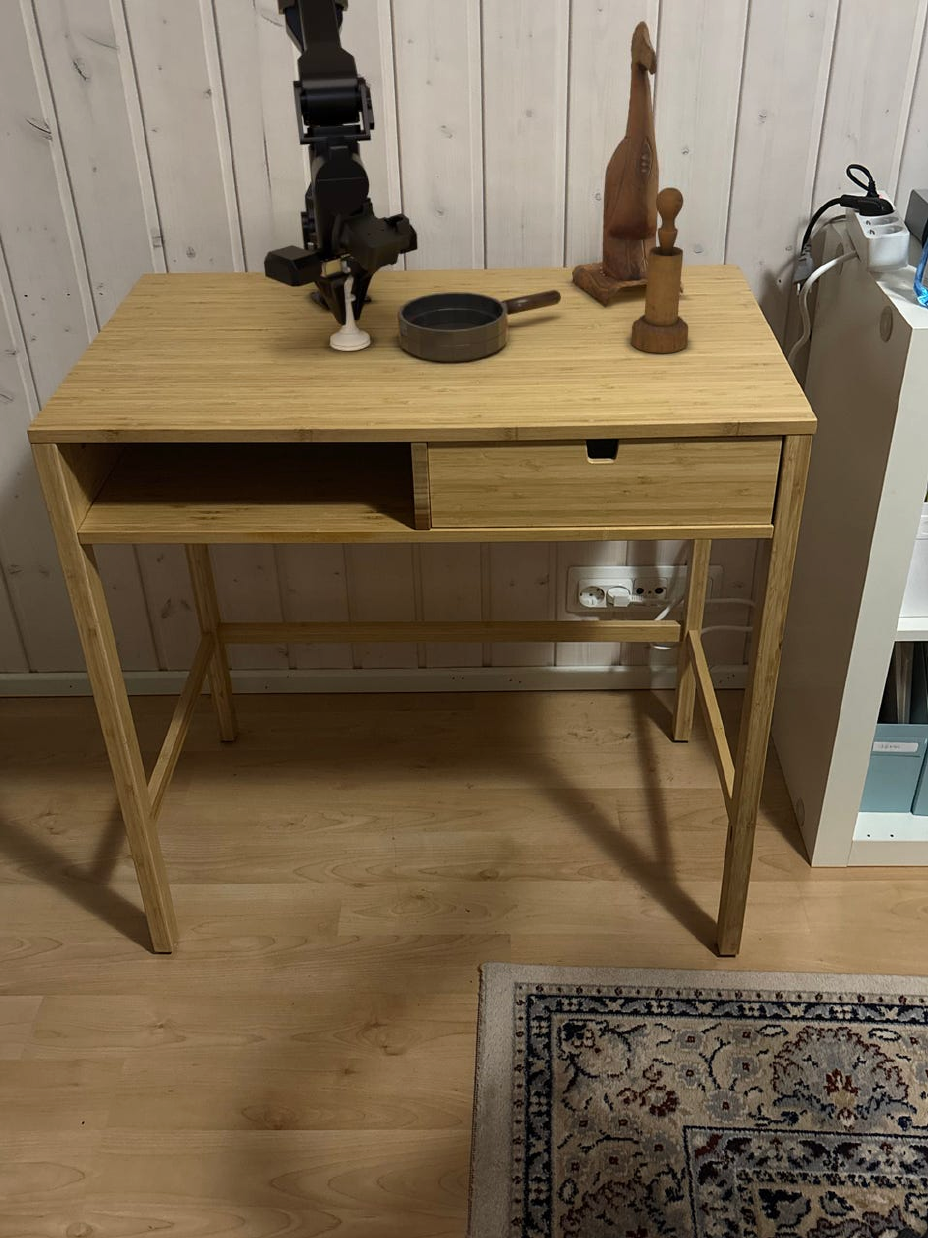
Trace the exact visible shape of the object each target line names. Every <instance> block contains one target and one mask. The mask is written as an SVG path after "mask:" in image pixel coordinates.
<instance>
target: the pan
mask: <svg viewBox="0 0 928 1238" xmlns="http://www.w3.org/2000/svg"><path fill="white" fill-rule="evenodd" d="M501 301H502V300H499V299H497V298H495V297H493V296H490V295H486V294H482V293H474V292H467V291H465V292H463V291H450V292H436V293H432V294H425V295H421V296H418V297H416V298H413V299H410V300H407V302H405V303H404V304H402V305H401V306H400V307H399V309H398V310H397V328H398V329H397V330H398V342H399V345H400V347H401V348H402V349H404V350H405V351H406V352H408V353H409V354H411V355H412V356H415V357H417V358H420V359H423V360H427V361H433V362H443V363H457V362H459V363H461V362H468V361H474V360H479V359H482V358H485V357H488V356H490V355H493V354H494V353H495V352H497V351H499V350H500V349H501V348H503V347H504V346H505V345H506V344H507V340H508V337H509V334H508V333H509V331H508V328H509V327H508V324H509V318H508V316H509V315H508V309H507V308H506V306H505V304H504V303H502V302H501ZM494 304H495V305H496V306H498V307H499V312H498V314H499V315H498V314H496V313H495V312H494ZM496 306H495V307H496Z"/></svg>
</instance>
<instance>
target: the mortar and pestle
mask: <svg viewBox="0 0 928 1238" xmlns="http://www.w3.org/2000/svg"><path fill="white" fill-rule="evenodd" d="M683 206H684V196H683V194H682V192H681V191H680V190H679V189H678V188H675V187H665V188H663V189H661V190H660V191H659V192H658V196H657V198H656V207H657V210H658V214H659V216H660V219H661V226H660V227H659V228H657V238H658V244H659V245H657V246H656V247H653V248H651V249H650V250H649V258H648V274H647V280H646V281H647V284H646V289H645V305H644V314H643V315H641V316H640V317H639V318H637V319H636V320H635V321H634V322H633V323H632V326H631V338H630V340H631V341H630V343H631V345H632V346H633V347H634V348H636V349H638V350H639V351H643V352H647V353H659V354H671V353H676V352H680V351H682V350H684V349H685V348H686V347H687V346H688V341H689V339H688V338H689V324H688V323H687V322H686V321H685V320H684V319H683V318H682V317H680V316H679V308H680V307H679V306H680V294H681V293H680V282H682V281H681V280H682V270H683V269H682V268H683V260H684V259H683V258H684V250H683V249H682V248H680V247H678V246H675V243H676V240H677V237H678V233H679V230H678V228H677V227H676V224H675V223H676V218H677V216H678V215H679V214H680V212H681V210H682V208H683Z"/></svg>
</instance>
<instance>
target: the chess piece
mask: <svg viewBox="0 0 928 1238" xmlns="http://www.w3.org/2000/svg"><path fill="white" fill-rule="evenodd" d="M341 270H342V272H345V273H347V272H350V268H349V267H347V265H346V261H341ZM353 280H354V278H353V277H352V276H351V275H349V277H348V279H347V280H346V282H345V284H344V292H345V304H346V325H341V328H340V329H339V331H336V332H335V333H333V334H332V335H331V336H330V338H329V341H330V342H329V346H330V347H331V348H332V349H335V350H338V351H344V352H345V351H349V352H352V351H358V350H359V351H360V350H362V349H364V348H367V347H369V346H370V344H371V342H372V341H371V338H370V335H369V333H367V332H366V331H364V330H361V329H359V327H357V326H356V321H355V320H354V316H353V311H352V305H351V301H354V300H355V299H356V297H355V295H353V294H351V293H350V292H351V289H352V284H353Z"/></svg>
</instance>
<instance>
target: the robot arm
mask: <svg viewBox="0 0 928 1238" xmlns="http://www.w3.org/2000/svg"><path fill="white" fill-rule="evenodd" d="M276 2H277V11H278V15H279V16H282V15H283V16H284V24H285V32H286V35H287V36H288V38H289V39H290V41H291V42H292V43H293V45H294V46H295V47H296V49H297V50H298V52H299V54H300V56H299V57H298V58H297V60H296V63H297V75H298V80H292V88H293V99H294V107H295V116H296V125H297V131H298V140H299V141H298V142H299V145H300V146H305V145H306V146H307V145H308V146H307V150H308V152H307V153H308V162H309V170H310V171H309V172H310V183H309V184H308V187H307V189H306V191H305V194H304V208H305V209H304V210H305V211H304V210H303V211H300V223H301V224H300V225H301V237H302V246H303V248H302V247H299V246H296V245H293V244H292V245H288V246H284V247H281V248H278V249H274V250H271V251H268V252H267V253H266V255H265V256H264V260H263V267H264V275H265V277H266V278H268V279H271V280H274V281H276V282H279V283H281V284H284V285H286V286H289V287H292V288H299V287H303V286H306V285H310V284H312V283H313V284H314V285H315V286H316V288H317V291H316V290H315V291H312V292H309V298H310V299H312V300H314V302H316V303H317V304H318V305H319V306H320V307H322V308H323V309H324V310H326V311H331V313H332V315H333V317H334V318H335V320H336V322H337V324H338V325H341V326H342V325H346V304H345V292H344V284H345V282H346V280H347V279H348V277H349V275H351V276H352V277H353V278H354V280H353V284H352V289H351V292H350V293H351V294H353V295H355V297H356V299H355V300H354V301H351V305H352V311H353V316H354V321H355V322H359V321H360V319H361V317H362V313H363V310H364V309H363V308H364V305H365V304H368V303H371V302H372V301H373V299H372V296H371V295H369V294H367V293H368V290H369V286H370V284H371V281H372V278H373V277H374V275H375V274H376V273H377V272H378V271H379V270H380V269H381V268H384V267H387V266H389V265H390V266H394V265H396V264H397V263H398V261H399V257H400V256H399V255H404V254H407V253H411V252H414V251H416V250H418V248H419V247H418V246H419V245H418V232H417V231H416V229H415V228H414V226H413V225H412V224H411V222H410V218H409V217H407V216H406V215H405V213H397V214H393V215H390V216H389V217H386V216H384V217H383V216H382V217H380V218H379V217H377V216H376V215H375V211H374V203H373V202H372V198H371V197H369V193H370V179H369V176H368V173H367V171H366V167H365V165H364V162H363V160H362V157H361V144H360V143H359V142H367V141H368V142H369V141H370V142H371V141H372V134H371V131H375V127H376V126H375V123H376V122H375V116H374V108H373V101H372V94H371V88H370V86H369V85H367V80H366V79H365V78H364V76H359V74H358V68H357V63H356V60H355V59H356V58H355V56H354V55H352V54H351V53H350V52H349V51H347V50H346V49H344V48H343V47H342V41H341V33H342V30H343V22H344V13H343V12H348V9H349V0H276ZM360 115H361V116H360ZM361 121H362V127H361V123H360V122H361ZM304 127H306V132H304V130H305V129H304ZM341 261H346V265H347V267H349V268H350V272H347V273H345V272H342V270H341Z"/></svg>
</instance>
